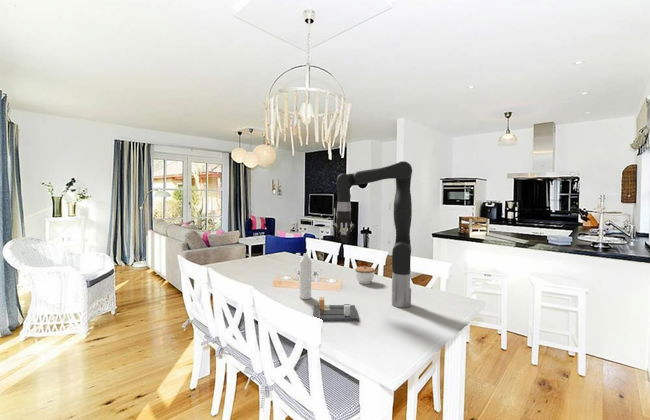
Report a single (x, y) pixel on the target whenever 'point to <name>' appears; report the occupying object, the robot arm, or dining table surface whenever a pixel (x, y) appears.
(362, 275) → the lidded bowl
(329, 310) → the console
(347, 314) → the white banded fader cap
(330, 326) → the dining table surface
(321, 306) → the fader orange
